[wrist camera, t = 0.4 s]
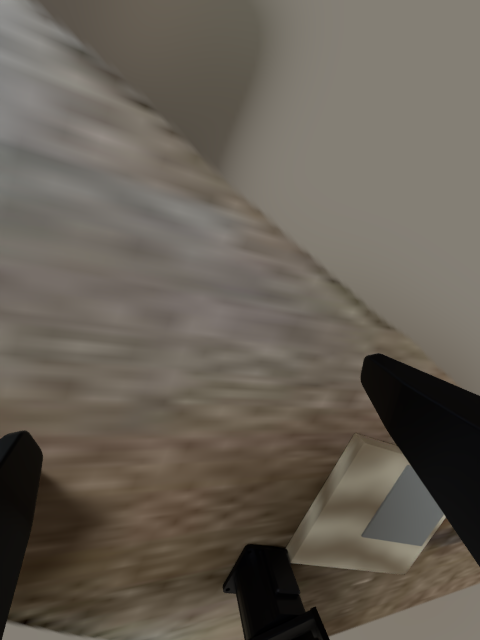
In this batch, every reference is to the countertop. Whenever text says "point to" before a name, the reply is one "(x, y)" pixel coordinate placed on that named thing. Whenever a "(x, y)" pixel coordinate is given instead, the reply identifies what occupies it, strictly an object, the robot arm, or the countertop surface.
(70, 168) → the countertop surface
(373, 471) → the board
